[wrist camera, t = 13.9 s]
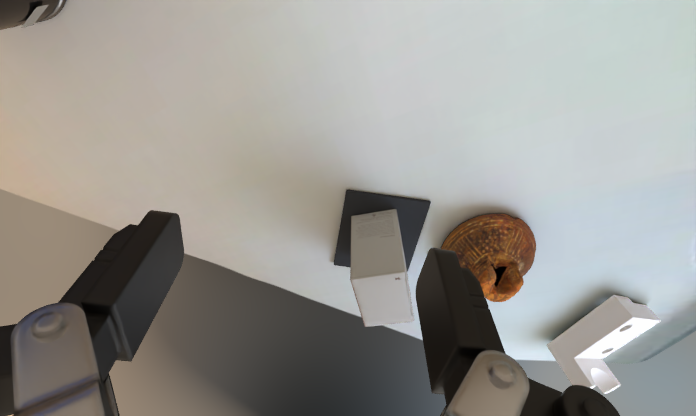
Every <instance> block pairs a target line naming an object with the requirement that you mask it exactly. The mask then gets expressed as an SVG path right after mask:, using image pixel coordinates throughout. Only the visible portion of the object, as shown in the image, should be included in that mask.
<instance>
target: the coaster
mask: <svg viewBox="0 0 696 416" xmlns="http://www.w3.org/2000/svg"><path fill="white" fill-rule="evenodd" d="M430 204H431V202H430V201H426V200H419V199H412V198H404V197H397V196H390V195H383V194H375V193H368V192H361V191H354V190H347V191H346V197H345V202H344V208H343V214H342V220H341V225H340V231H339V237H338V243H337V248H336V254H335V260H334V265H338V266H346V267H351V216H354V215H361V214H367V213H373V212H379V211H385V210H391V209H396V211H397V216H398V222H399V227H400V233H401V239H402V245H403V251H404V256H405V263H406V269H407V271H408V268H409V265H410V262H411V260H412V257H413V254H414V251H415V248H416V245H417V242H418V239H419V236H420V233H421V230H422V227H423V224H424V221H425V218H426V215H427V212H428V209H429V206H430Z"/></svg>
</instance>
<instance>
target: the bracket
mask: <svg viewBox="0 0 696 416" xmlns="http://www.w3.org/2000/svg"><path fill="white" fill-rule="evenodd" d="M660 321H661V320H660V319H659V318H658V317H657V316H656V315H655V314H654V312H653V311H652V310H651V309H650V308H649V307H648V306H647V305H643V304H637V303H633V302H632V301H631V300H630V299H629V298H628V297H623V296H617V295H613V296H611V297H610V298H609V299H607V300H606V301H605V302H603V303H602V304H601V305H599V306H598V307H597V308H595V309H594V310H593V311H591V312H590V313H589V314H587V315H586V316H585V317H583V318H582V319H581V320H579V321H578V322H577V323H575V324H574V325H573V326H571V327H570V328H569V329H567V330H566V331H565V332H563V333H562V334H561V335H559V336H558V337H557V338H555V339H554V340H553V341H551V342H550V343H549V344H547V347H548V348H549V350H550V352H551V353H552V355H553V356H554V358H555V359H556V361H557V362H558V364H559V365H560V367H561V368H562V370H563V372H564V373H565V375H566V376H567V378H568V379H569V381H570V382H571V384H572V385H582V386H586V387H589V388H591V389H592V388H593V387H595V386H596V385H597V386H598V387H599V388H600V390H601V391H602V392H603V393H604V394H607V393H609V392H611V391H613V390H614V389H616V388H618V387H619V386H621V384H620V383H619V381H618V380H617V379H616V377H615V376H614V375H613V373H612V372H611V370H610V369H609V368H608V366H607V365H606V364H605V362H604V361H603V360H602V359H603V358H605V357H606V356H608V355H609V354H611V353H612V352H614V351H616V350H617V349H619V348H620V347H622V346H623V345H625V344H626V343H628V342H629V341H631V340H632V339H634V338H636V337H637V336H639V335H640V334H642V333H643V332H645V331H646V330H648V329H649V328H651V327H653V326H654V325H656V324H657V323H659V322H660Z"/></svg>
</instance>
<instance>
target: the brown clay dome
mask: <svg viewBox="0 0 696 416" xmlns="http://www.w3.org/2000/svg"><path fill="white" fill-rule="evenodd" d="M441 249H444V250H451V251H455V252H456V254H457V257H458V260H459V263H460V267H461V268H467V269H470V271H471V272H472V273H473V274H474V276H475V277H476V278H477V279H478V280H479V282H480V285H481V287H482V290H483V293H484V297H485V298H487V299H488V300H490V301H493V302H503V301H506V300H508V299H510V298H511V297H512V296H514V295H515V294H516V293H517V292H518V291H519V290H520V288H521V286H522V285H523V278H522V277H523V276H524V275H525V274H526V273H527V272H528V270H529V269H530V268H531V266H532V264H533V261H534V257H535V251H536V242H535V238H534V235H533V232H532V231H531V229H530V227H529V226H528V225H527V224H526V223H525V222H524V221H523V220H521V219H519V218H516V219H514V218H512V217H511V216H509V215H506V214H488V215H481V216H478V217H475V218H472V219H470V220H468V221H466V222H464V223H462V224H461V225H459V226H458V227H457V228H456V229H455V230H453V231H452V232H451V233H450V234H449V236H448V237H447V238H446V240H445V241H444V243H443V245H442V247H441Z"/></svg>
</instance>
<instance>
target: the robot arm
mask: <svg viewBox="0 0 696 416" xmlns="http://www.w3.org/2000/svg"><path fill="white" fill-rule="evenodd" d="M65 2H66V0H0V30H3V29H7V28H11V27H15V26H19V25H23V26H22V27H21V28H23V27H27V26H30V25H34V23H36V22H41V21H45V20H48V19H51V18H52V17H54V16H56V15H57V14H58V13H59V12H60V11H61V10H62V8H63V7H64V4H65ZM183 257H184V247H183V240H182V232H181V225H180V218H179V215H178V214H176V213H169V212H161V211H154V210H151V211H149V212H148V213H147V214H146V216H145V217H144V218H143V220H142V221H141V222H140V224H139V225H131V224H130V225H128V226H127V227H125V228H123V229H122V230H120V231H119V232H117V233H115V234H114V235H113V236H112V237H111V239H110V240H109V241H108V242H107V243H106V245H105V246H104V248H103V250H101V251H100V252H99V253H98V254H97V256H96V257H95V260H94V261H92V262H91V263H90V264H89V266H88V267H87V268H86V269H85V271H84V272H83V273H82V274H81V275H80V277H79V278H78V279H77V280H76V282H75V283H74V284H73V285H72V286H71V288H70V289H69V290H68V291H67V292H66V294H65V295H64V296H63V297H62V299H61V300H60V301H59V302H58V303H55V304H50V305H46V306H44V307H41V308H39V309H37V310H35V311H33V312H31V313H29V314H28V315H27V316H25V317H24V318H23V319H22V320H21V321H20V322H18V324H14V325H8V326H1V327H0V416H8V415H12V414H14V415H13V416H119V411H118V408H117V403H116V399H115V395H114V391H113V387H112V383H111V379H110V376H109V371H110V370H111V368H112V366H113V364H114V362H115V361H116V360H121V361H132V359H133V357H134V355H135V353H136V351H137V350H138V348H139V345H140V344H141V342H142V340H143V338H144V336H145V334H146V332H147V331H148V329H149V327H150V325H151V323H152V321H153V319H154V317H155V315H156V314H157V312H158V310H159V308H160V306H161V304H162V302H163V300H164V299H165V297H166V295H167V293H168V291H169V289H170V287H171V285H172V284H173V281H174V280H175V278H176V276H177V274H178V272H179V270H180V268H181V266H182V262H183ZM416 301H417V307H418V313H419V319H420V325H421V331H422V337H423V343H424V349H425V354H426V361H427V367H428V372H429V378H430V385H431V390H432V393H435V394H445V399H446V404H447V405H446V406H445V408H444V410H443V412H442V413H441V415H440V416H620V415H619V413H618V412H617V410H616V409H615V408H614V406H613V405H612V404H611V403H610V402H609V401H608V400H607V399H606V398H605V397H603V396H602V395H601V394H600V393H598V392H597V391H595V390H593V389H591V388H589V387H586V386H582V385H572V386H570V387H568V388H567V389H566V390H565V391H564V392H563V393H562V392H560V391H557V390H555V389H552V388H550V387H547V386H545V385H543V384H540V383H538V382H535V381H533V380H531V379H529V378H528V377H527V375H526V373H525V371H524V370H523V368H522V367H521V366H520V365H519V364H518V363H517V362H516V361H515V360H514V359H513V358H511V357H510V356H508V355H506V354H505V351H504V349H503V346H502V343H501V340H500V337H499V335H498V332H497V329H496V326H495V324H494V321H493V318H492V315H491V312H490V310H489V309H488V304H487V301H486V299H485V298H484V293H483V290H482V287H481V285H480V282H479V280H478V279H477V278H476V277H475V276H474V274H473V273H472V272H471V271H470V269H467V268H461V267H460V263H459V260H458V257H457V254H456V252H455V251H451V250H444V249H436V248H431V249H430V250H429V252H428V254H427V257H426V260H425V262H424V265H423V267H422V270H421V273H420V275H419V278H418V281H417V285H416Z"/></svg>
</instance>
